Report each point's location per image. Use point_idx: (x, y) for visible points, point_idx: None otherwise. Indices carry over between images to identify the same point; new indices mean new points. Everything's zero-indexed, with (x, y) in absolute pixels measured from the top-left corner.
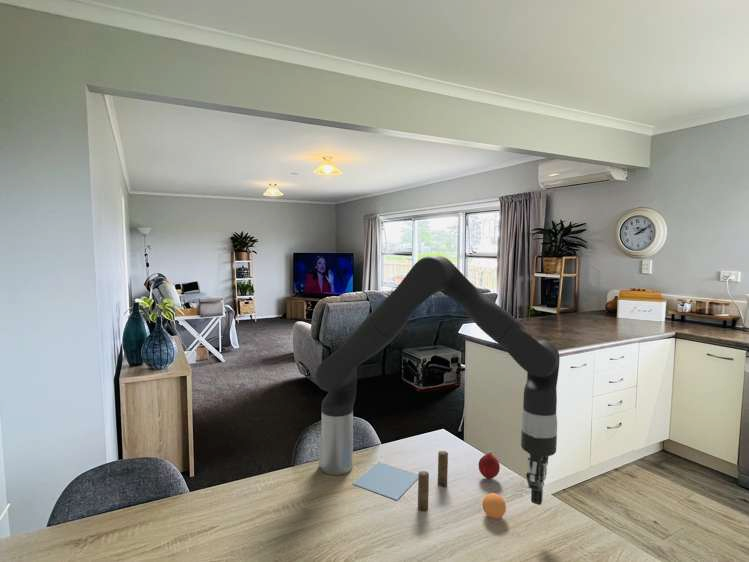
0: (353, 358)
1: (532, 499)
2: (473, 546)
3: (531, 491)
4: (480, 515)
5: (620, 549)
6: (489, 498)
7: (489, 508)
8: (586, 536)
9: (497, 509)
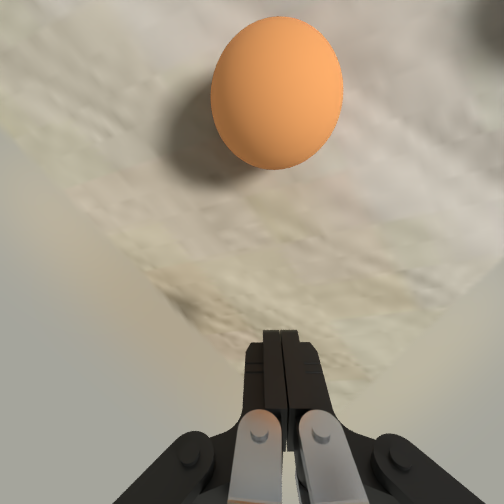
0: None
1: (246, 353)
2: (31, 96)
3: (264, 377)
4: None
5: None
6: (240, 70)
7: (211, 92)
8: None
9: (224, 140)
